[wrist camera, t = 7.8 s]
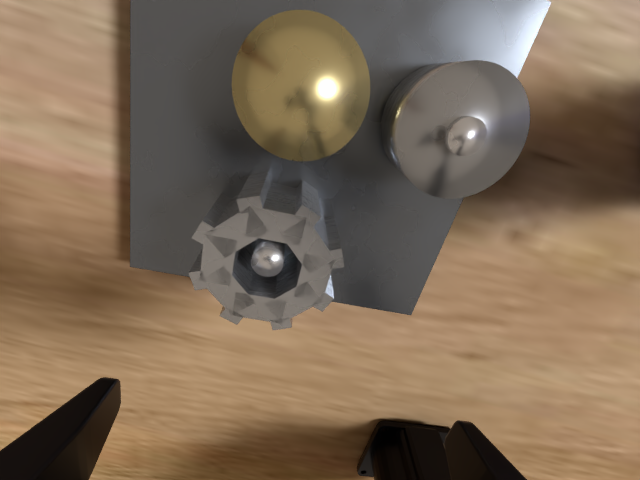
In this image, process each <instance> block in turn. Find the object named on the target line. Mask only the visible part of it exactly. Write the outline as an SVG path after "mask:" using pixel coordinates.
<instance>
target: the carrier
mask: <svg viewBox="0 0 640 480" xmlns="http://www.w3.org/2000/svg"><path fill="white" fill-rule="evenodd" d="M550 4H551V2H550V1H547V0H130V267H135V268H141V269H147V270H152V271H158V272H164V273H170V274H176V275H181V276H187V277H190V276H189V273H188V272H189V271H190V269H191V267H192V266H193V264H194V262H195V260H196V259H197V257H198V255H199V254H200V252H201V250H202V248H203V244H201V243H199V242H198V241H196V240H194V239H192V236H193V235H194V233H195V232H196V230H197V228H198V227H199V225H200V224H201V222H202V220H203V219H204V218H205V216H206V215H207V213H208V212H209V210H210V209H211V208H212V206H213V205H214V203H215V202H216V200H217V199H218V197H219V196H220V195H221V193H222V194H224V195H226V196H227V197H229V198H230V199H232V198H233V197H235V196H236V195H238V194H240V192H241V190H242V188H243V186H244V184H245V183H246V181H247V179H248V177H249V175H254V174H260V173H266V172H268V174H269V178H270V183H275V184H279V185H284V186H288V187H293V188H297V187H298V185H299V184H300V182H301V181H302V180H303V181H305V182H306V183H308V184H309V185H311V186H312V187H313V188H315V189H316V190H317V191H318V198H319V206H320V213H321V214H322V216H323V217H324V218H331V217H335V222H336V226H337V231H338V235H339V239H340V244H341V248H342V255H343V262H344V267H341V268H335V269H332V271H331V279H332V286H333V293H334V299H333V300H332V302H338V303H343V304H349V305H355V306H361V307H367V308H372V309H378V310H384V311H390V312H395V313H401V314H407V315H411V314H412V312H413V310H414V307H415V305H416V303H417V301H418V298H419V296H420V294H421V292H422V290H423V287H424V285H425V283H426V281H427V278H428V276H429V274H430V272H431V269H432V267H433V265H434V263H435V261H436V258H437V256H438V254H439V252H440V249H441V247H442V245H443V243H444V240H445V238H446V236H447V234H448V231H449V229H450V227H451V225H452V223H453V220H454V218H455V216H456V214H457V211H458V209H459V207H460V205H461V202H462V200H463V198H464V197H467V196H471V195H474V194H477V193H479V192H481V191H483V190H485V189H487V188H488V187H490V186H491V185H493V184H494V183H495V182H497V181H498V180H499V179H500V178H501V177H503V176H504V175H505V174H506V173H507V171H508V170H509V169H510V168H511V167H512V166H513V164H514V163H515V161H516V160H517V158H518V156H519V155H520V153H521V151H522V149H523V147H524V144H525V142H526V138H527V135H528V131H529V125H530V106H529V102H528V98H527V95H526V92H525V90H524V88H523V86H522V84H521V83H520V81H519V80H518V79H517V77H518V75H519V73H520V71H521V68H522V66H523V64H524V62H525V60H526V57H527V55H528V53H529V51H530V48H531V46H532V44H533V42H534V39H535V37H536V35H537V33H538V30H539V28H540V26H541V24H542V22H543V19H544V17H545V15H546V13H547V10H548V8H549V6H550ZM249 245H250V247H251V248H252V249H253V250H254V252H253V256H252V259H251V266H252V268H253V270H254V271H255V272H256V273H257V274H259V275H261V276H264V277H271V276H275V275H277V274H278V273H279V272H280V271H281V270H282V268H283V263H284V257H285V256H287V255H289V254H291V253H292V252H293V251H292V250H291V248H290V247H289V246H288V244H286V243H281V242H276V241H271V240H266V239H261V238H258V239H256V240H255V241H253V242H251V243H249Z"/></svg>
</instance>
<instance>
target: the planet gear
mask: <svg viewBox="0 0 640 480" xmlns="http://www.w3.org/2000/svg"><path fill="white" fill-rule="evenodd" d="M258 238H261V239H266V240H271V241H276V242H281V243H286V244H288V246H289V247H290V248H291V250H292V251H293V252H292V253H291V254H289V255H287V256H285V257H284V263H283V268H282V270H281V271H280V272H279V273H278V274H277V275H275V276H271V277H264V276H261V275H259V274H257V273H256V272H255V271H254V270H253V268H252V266H251V259H252V256H253V252H254V250H253V249H252V248H251V247H250V245H249V243H251V242H253V241H255V240H256V239H258ZM192 239H194V240H196V241H198V242H199V243H201V244H203V248H202V250H201V252H200V254H199V255H198V257H197V259H196V260H195V262H194V264H193V266H192V267H191V269H190V271H189V272H188V273H189V276H190V278H191V281H192V284H193V286H194V289H195V290H200V289H208V290H209V291H210V292H211V293H212V295H213V296H214V297H215V298H216V299H217V300H218V301H219V302H220V303H221V304H222V305H223V308H222V310H221V313H220V316H221V317H223V318H225V319H227V320H229V321H231V322H233V323H235V324H238V323H239V322H240V320H241V319H242V318H243V317H244V318H251V319H257V320H263V321H269V322H271V326H272V329H273V330H278V329H285V328H291V327H292V317H294V316H296V315H298V314H300V313H302V312H304V311H306V310H307V309H309V308H311V307H315V308H317V309H318V310H320V311H323V310H324V309H325V308H326V307H327V306H328V305H329V304H330V303H331V301H332V300H333V299H334V293H333V286H332V279H331V271H332V269H335V268H341V267H344V262H343V255H342V248H341V244H340V239H339V235H338V231H337V226H336V222H335V217H331V218H324V217H323V216H322V214H321V213H320V206H319V198H318V191H317V190H316V189H315V188H313V187H312V186H311V185H309V184H308V183H306V182H305V181H303V180H302V181H301V182H300V184H299V185H298V187H297V188H293V187H288V186H284V185H279V184H275V183H270V178H269V174H268V172H266V173H260V174H254V175H249V177H248V179H247V181H246V183H245V184H244V186H243V188H242V190H241V192H240V194H238V195H236V196H235V197H233V198H232V199H230V198H229V197H227V196H226V195H224V194H222V193H221V195H220V196H219V197H218V199H217V200H216V202H215V203H214V205H213V206H212V208H211V209H210V210H209V212H208V213H207V215H206V216H205V218H204V219H203V220H202V222H201V224H200V225H199V227H198V228H197V230H196V232H195V233H194V235H193V236H192Z"/></svg>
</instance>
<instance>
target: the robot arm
mask: <svg viewBox="0 0 640 480" xmlns="http://www.w3.org/2000/svg"><path fill="white" fill-rule="evenodd" d="M120 404H121V390H120V381H119V380H118V379H114V378H106V377H104V378H100V379H98V380H97V381H95V382H94V383H93V384H91V385H90V386H89V387H87V388H86V389H84V390H83V391H82V392H80V393H79V394H78V395H76V396H75V397H73V398H72V399H71V400H69V401H68V402H67V403H65V404H64V405H62V406H61V407H60V408H58V409H57V410H56V411H54V412H53V413H52V414H50V415H49V416H47V417H46V418H45V419H43V420H42V421H41V422H39V423H38V424H36V425H35V426H34V427H32V428H31V429H30V430H28V431H27V432H25V433H24V434H23V435H21V436H20V437H19V438H17V439H16V440H14V441H13V442H12V443H10V444H9V445H8V446H6V447H5V448H4V449H2V450H1V451H0V480H89V478H90V476H91V473H92V471H93V469H94V467H95V464H96V462H97V460H98V457H99V455H100V453H101V451H102V448H103V446H104V444H105V441H106V439H107V437H108V434H109V432H110V430H111V427H112V425H113V423H114V420H115V418H116V416H117V414H118V411H119V408H120ZM357 472H358V474H359V475H361V476H370V477H374V480H527V479H526V478H525V477H524V476H523V475H522V474H521V473H520V472H519V471H518V470H517V469H516V468H515V467H514V466H513V465H512V464H511V463H510V462H509V461H508V460H507V459H506V457H505V456H504V455H503V454H502V453H501V452H500V451H499V450H498V449H497V448H496V447H495V446H494V445H493V444H492V443H491V442H490V441H489V440H488V439H487V438H486V437H485V436H484V434H483V433H482V432H481V431H480V430H479V429H478V428H477V427H476V426H475V425H474V424H473V423H471V422H468V421H460V420H459V421H456V422H455V423H454V425H453V426H452V428H451V429H448V428H439V427H431V426H423V425H415V424H407V423H398V422H390V421H381V422H379V423H378V424H377V426H376V428H375V430H374V432H373V434H372V437H371V439H370V441H369V443H368V445H367V447H366V449H365V451H364V453H363V455H362V458H361V460H360V462H359V464H358V466H357Z"/></svg>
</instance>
